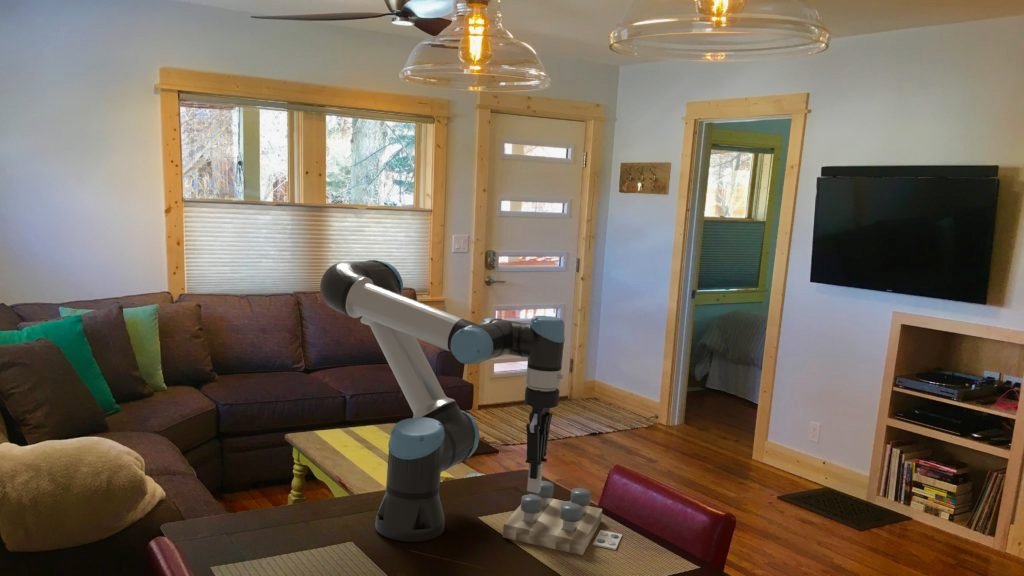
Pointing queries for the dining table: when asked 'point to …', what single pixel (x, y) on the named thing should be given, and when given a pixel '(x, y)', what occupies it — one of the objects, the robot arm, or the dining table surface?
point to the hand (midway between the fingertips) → (533, 490)
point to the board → (553, 528)
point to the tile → (607, 540)
